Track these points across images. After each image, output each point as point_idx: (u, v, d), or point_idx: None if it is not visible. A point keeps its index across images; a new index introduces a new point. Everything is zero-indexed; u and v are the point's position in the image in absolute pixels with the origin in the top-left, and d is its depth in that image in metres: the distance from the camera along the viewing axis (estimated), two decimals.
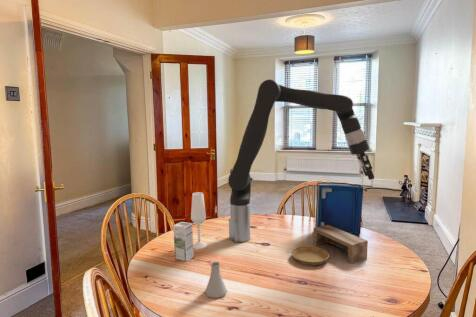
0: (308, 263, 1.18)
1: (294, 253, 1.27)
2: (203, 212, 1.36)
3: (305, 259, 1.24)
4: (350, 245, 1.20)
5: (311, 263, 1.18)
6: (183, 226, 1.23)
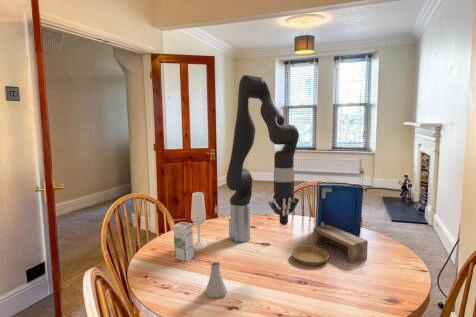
0: (308, 263, 1.18)
1: (294, 253, 1.27)
2: (203, 212, 1.36)
3: (305, 259, 1.24)
4: (350, 245, 1.20)
5: (311, 263, 1.18)
6: (183, 226, 1.23)
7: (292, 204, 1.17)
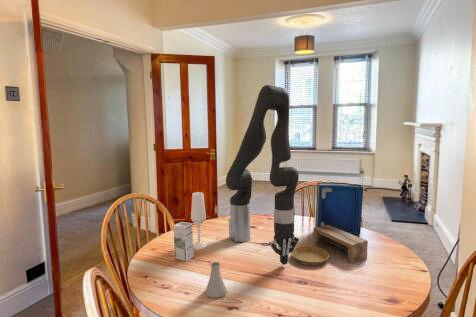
0: (308, 263, 1.18)
1: (294, 253, 1.27)
2: (203, 212, 1.36)
3: (305, 259, 1.24)
4: (350, 245, 1.20)
5: (311, 263, 1.18)
6: (183, 226, 1.23)
7: (292, 243, 1.19)
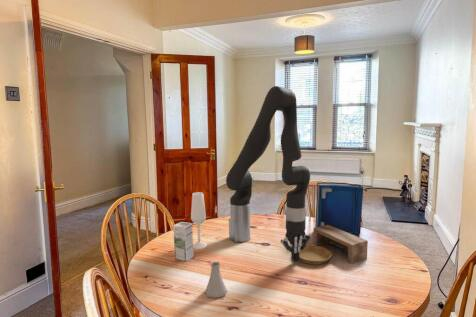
0: (311, 262, 1.19)
1: None
2: (203, 212, 1.36)
3: (308, 258, 1.25)
4: (350, 245, 1.20)
5: (314, 262, 1.19)
6: (183, 226, 1.23)
7: (303, 241, 1.21)
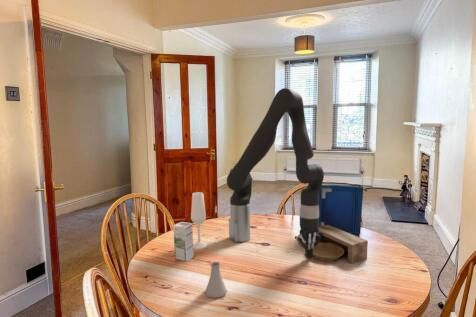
0: (324, 258, 1.22)
1: None
2: (203, 212, 1.36)
3: (321, 255, 1.28)
4: (350, 245, 1.20)
5: (327, 258, 1.22)
6: (183, 226, 1.23)
7: (316, 238, 1.24)
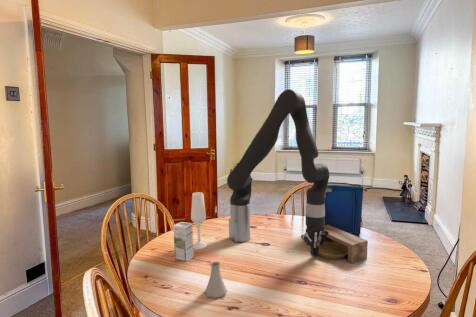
0: (330, 257, 1.23)
1: None
2: (203, 212, 1.36)
3: (326, 253, 1.29)
4: (350, 245, 1.20)
5: (333, 257, 1.23)
6: (183, 226, 1.23)
7: (322, 236, 1.26)
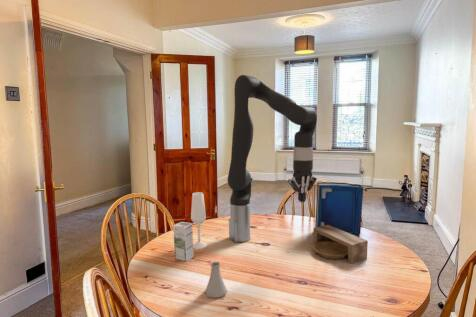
0: (330, 257, 1.23)
1: (316, 247, 1.33)
2: (203, 212, 1.36)
3: (327, 253, 1.29)
4: (350, 245, 1.20)
5: (333, 257, 1.23)
6: (183, 226, 1.23)
7: (310, 182, 1.23)
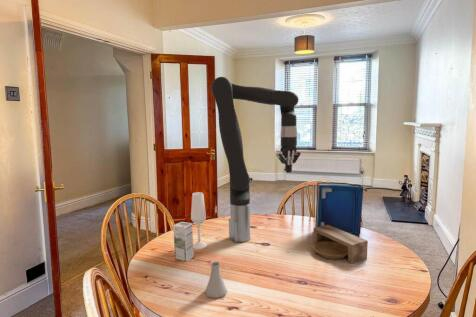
0: (330, 257, 1.23)
1: (316, 247, 1.33)
2: (203, 212, 1.36)
3: (327, 253, 1.29)
4: (350, 245, 1.20)
5: (333, 257, 1.23)
6: (183, 226, 1.23)
7: (295, 156, 1.47)
